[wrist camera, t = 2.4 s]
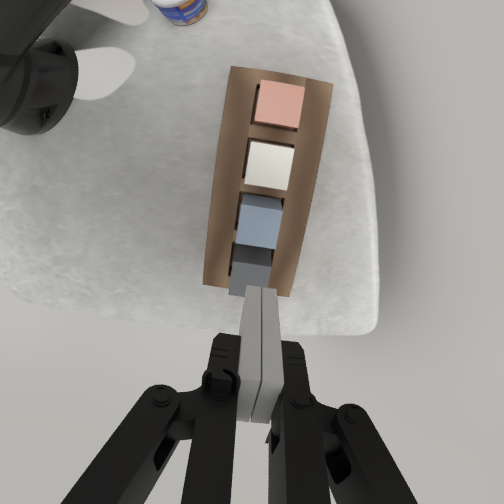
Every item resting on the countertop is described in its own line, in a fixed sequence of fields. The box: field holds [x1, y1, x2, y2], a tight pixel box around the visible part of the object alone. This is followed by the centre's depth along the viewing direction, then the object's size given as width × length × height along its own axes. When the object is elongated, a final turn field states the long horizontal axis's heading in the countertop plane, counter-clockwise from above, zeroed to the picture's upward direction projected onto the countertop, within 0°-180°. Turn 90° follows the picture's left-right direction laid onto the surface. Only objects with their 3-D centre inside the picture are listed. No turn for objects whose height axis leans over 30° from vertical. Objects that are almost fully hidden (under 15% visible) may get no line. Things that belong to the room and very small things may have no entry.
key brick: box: [254, 79, 305, 129], centre depth 26 cm, size 4×4×5 cm
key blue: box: [236, 194, 283, 249], centre depth 31 cm, size 4×4×5 cm
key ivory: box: [244, 140, 295, 191], centre depth 28 cm, size 4×4×5 cm
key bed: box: [203, 66, 333, 297], centre depth 33 cm, size 11×26×4 cm, turn 171°
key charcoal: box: [229, 243, 272, 297], centre depth 33 cm, size 4×4×5 cm
